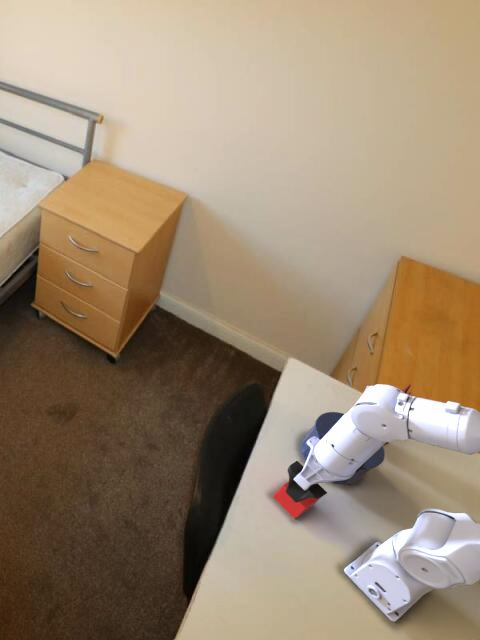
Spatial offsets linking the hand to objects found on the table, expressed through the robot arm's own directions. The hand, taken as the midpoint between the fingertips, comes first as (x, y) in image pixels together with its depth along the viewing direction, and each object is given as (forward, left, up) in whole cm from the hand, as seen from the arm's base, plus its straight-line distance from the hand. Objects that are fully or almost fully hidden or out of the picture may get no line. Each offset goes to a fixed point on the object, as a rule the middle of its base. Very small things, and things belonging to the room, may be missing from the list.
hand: (306, 486), depth 87 cm
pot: (+14, +2, -6) cm, 15 cm away
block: (0, 0, -6) cm, 6 cm away
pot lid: (+14, +2, +1) cm, 14 cm away
